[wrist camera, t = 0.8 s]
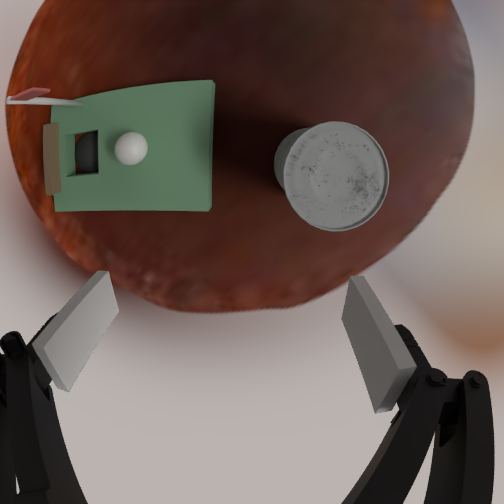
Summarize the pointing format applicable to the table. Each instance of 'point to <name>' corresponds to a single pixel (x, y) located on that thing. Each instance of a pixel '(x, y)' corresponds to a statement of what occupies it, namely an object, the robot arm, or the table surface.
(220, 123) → the table surface
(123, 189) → the green
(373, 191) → the grey can
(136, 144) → the ball
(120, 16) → the table surface
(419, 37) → the table surface
